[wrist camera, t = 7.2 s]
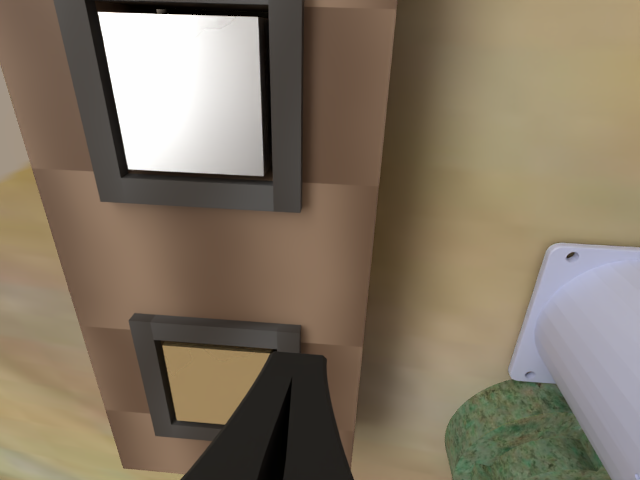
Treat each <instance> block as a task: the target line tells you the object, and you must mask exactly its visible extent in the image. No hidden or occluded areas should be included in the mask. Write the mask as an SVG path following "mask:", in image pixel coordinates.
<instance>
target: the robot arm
mask: <svg viewBox="0 0 640 480" xmlns="http://www.w3.org/2000/svg"><path fill="white" fill-rule="evenodd" d="M571 252H575V253H574V255H573V256H572V257H570V258H566V257H567V255H568V254H569V253H571ZM530 371H531V372H530ZM508 372H509V375H510V377H511V378H512V379H513V380H516V381H526V382H539V383H552V384H557V386H558V388H559V390H560V391H561V393H562V395H563V396H564V398H565V400H566V402H567V403H568V405H569V407H570V409H571V410H572V412H573V414H574V415H575V417H576V419H577V421H578V422H579V424H580V426H581V428H582V429H583V431H584V433H585V434H586V436H587V438H588V440H589V441H590V443H591V445H592V447H593V448H594V450H595V452H596V453H597V455H598V457H599V459H600V460H601V462H602V464H603V466H604V467H605V469H606V471H607V472H608V474H609V476H610V478H611V479H612V480H640V247H624V246H607V245H590V244H573V243H555V244H553V245H551V246H550V247H549V248H548V249H547V251H546V253H545V256H544V259H543V262H542V265H541V268H540V272H539V275H538V278H537V281H536V284H535V287H534V290H533V293H532V296H531V300H530V303H529V306H528V309H527V312H526V315H525V318H524V321H523V324H522V327H521V331H520V334H519V337H518V340H517V343H516V346H515V349H514V352H513V355H512V358H511V362H510V365H509V368H508ZM527 372H530V373H527ZM181 480H354V479H353V476H352V473H351V470H350V467H349V464H348V461H347V458H346V455H345V452H344V448H343V445H342V442H341V438H340V435H339V431H338V427H337V423H336V420H335V416H334V412H333V407H332V403H331V398H330V392H329V386H328V379H327V359H326V358H325V357H324V356H323V355H316V354H302V353H289V352H276V351H274V352H272V353H271V354H270V355H269V357H268V359H267V361H266V363H265V364H264V366H263V368H262V370H261V372H260V373H259V375H258V377H257V378H256V380H255V381H254V383H253V385H252V386H251V388H250V389H249V391H248V392H247V394H246V395H245V397H244V398H243V400H242V401H241V403H240V404H239V406H238V407H237V408H236V410H235V411H234V413H233V414H232V416H231V417H230V418H229V420H228V421H227V423H226V424H225V425H224V427H223V428H222V429H221V431H220V432H219V433H218V434H217V436H216V437H215V438H214V439H213V441H212V442H211V443H210V445H209V446H208V447H207V448H206V450H205V451H204V452H203V454H202V455H201V456H200V457H199V459H198V460H197V461H196V462H195V463H194V464H193V466H192V467H191V468H190V469H189V470H188V472H187V473H186V474H185V475H184V476H183V477H182V478H181Z"/></svg>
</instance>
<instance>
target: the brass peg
mask: <svg viewBox="0 0 640 480" xmlns="http://www.w3.org/2000/svg"><path fill="white" fill-rule="evenodd" d="M162 346H163V351H164V356H165V362H166V367H167V372H168V377H169V382H170V387H171V393H172V398H173V403H174V408H175V413H176V419H177V420H178V421H190V422H201V423H213V424H226V423H227V421H228V420H229V418H230V417H231V416H232V414H233V413H234V411H235V410H236V408H237V407H238V406H239V404H240V403H241V401H242V400H243V398H244V397H245V395H246V394H247V392H248V391H249V389H250V388H251V386H252V385H253V383H254V381H255V380H256V378H257V377H258V375H259V373H260V372H261V370H262V368H263V366H264V364H265V363H266V361H267V359H268V357H269V355H270V354H271V353H272V352H274V351H276V352H277V349H268V348H255V347H242V346H228V345H215V344H202V343H189V342H176V341H165V342H164V344H163V345H162Z"/></svg>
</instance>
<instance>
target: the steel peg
mask: <svg viewBox="0 0 640 480" xmlns="http://www.w3.org/2000/svg"><path fill="white" fill-rule="evenodd" d="M98 14H99V20H100V25H101V30H102V35H103V40H104V46H105V51H106V56H107V61H108V66H109V71H110V77H111V82H112V87H113V92H114V97H115V103H116V108H117V113H118V118H119V123H120V128H121V134H122V139H123V144H124V149H125V154H126V160H127V165H128V169H132V170H151V171H171V172H190V173H209V174H228V175H248V176H264V175H265V174H266V172H267V171H268V169H269V167H270V166H271V164H272V127H271V88H270V49H269V19H266V18H261V17H241V16H207V15H174V14H140V13H106V12H98Z"/></svg>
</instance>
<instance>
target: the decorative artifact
mask: <svg viewBox="0 0 640 480" xmlns="http://www.w3.org/2000/svg"><path fill="white" fill-rule="evenodd" d="M445 446H446V451H447V456H448V460H449V465H450V469H451V474H452V478H453V480H612V479H611V478H610V476H609V474H608V472H607V471H606V469H605V467H604V466H603V464H602V462H601V460H600V459H599V457H598V455H597V453H596V452H595V450H594V448H593V447H592V445H591V443H590V441H589V440H588V438H587V436H586V434H585V433H584V431H583V429H582V428H581V426H580V424H579V422H578V421H577V419H576V417H575V415H574V414H573V412H572V410H571V409H570V407H569V405H568V403H567V402H566V400H565V398H564V396H563V395H562V393H561V391H560V390H559V388H558V386H557V384H552V383H539V382H526V381H516V380H513V379H512V380H508V381H505V382H502V383H498V384H496V385H493V386H491V387H489V388H487V389H485V390H483V391H481V392H479V393H478V394H476V395H474V396H473V397H471V398H470V399H469V400H467V401H466V402H465V403H464V404H463V405H462V406H461V407H460V408H459V409H458V410H457V411H456V412H455V414H454V415H453V417H452V418H451V420H450V422H449V424H448V426H447V429H446V434H445Z"/></svg>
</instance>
